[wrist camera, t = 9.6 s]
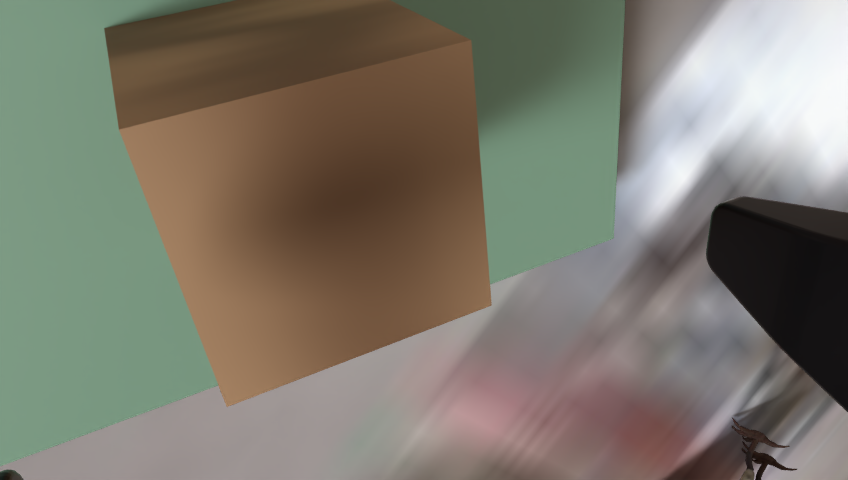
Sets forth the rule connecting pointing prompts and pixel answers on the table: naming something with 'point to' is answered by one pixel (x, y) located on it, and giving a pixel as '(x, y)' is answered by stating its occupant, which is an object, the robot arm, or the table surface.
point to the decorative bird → (760, 458)
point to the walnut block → (306, 177)
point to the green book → (139, 237)
